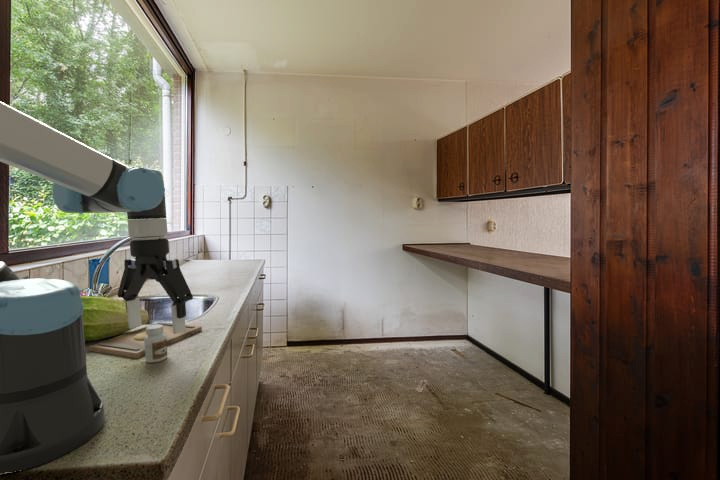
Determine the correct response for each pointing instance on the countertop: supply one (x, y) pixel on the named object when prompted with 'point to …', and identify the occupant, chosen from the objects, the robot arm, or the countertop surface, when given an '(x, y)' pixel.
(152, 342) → the pill bottle
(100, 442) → the countertop surface
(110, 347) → the cutting board
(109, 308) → the green papaya
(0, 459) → the robot arm
